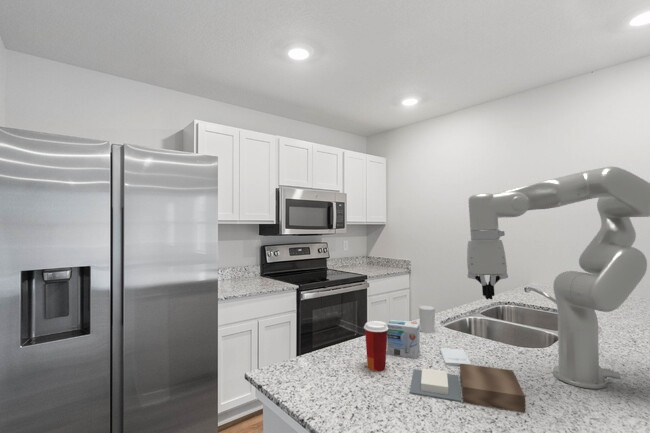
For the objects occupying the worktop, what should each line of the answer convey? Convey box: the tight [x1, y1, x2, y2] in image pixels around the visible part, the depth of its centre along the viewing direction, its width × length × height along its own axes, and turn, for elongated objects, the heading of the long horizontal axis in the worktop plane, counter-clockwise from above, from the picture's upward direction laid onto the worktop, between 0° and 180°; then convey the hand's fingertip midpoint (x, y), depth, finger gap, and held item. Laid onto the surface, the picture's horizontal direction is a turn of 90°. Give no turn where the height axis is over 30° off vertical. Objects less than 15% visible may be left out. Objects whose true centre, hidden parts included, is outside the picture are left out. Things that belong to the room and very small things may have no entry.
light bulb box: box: [386, 318, 421, 360], centre depth 118 cm, size 11×7×11 cm, turn 68°
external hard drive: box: [439, 347, 473, 367], centre depth 113 cm, size 2×8×12 cm
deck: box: [459, 364, 526, 413], centre depth 90 cm, size 14×15×4 cm
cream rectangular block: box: [421, 367, 448, 395], centre depth 94 cm, size 7×10×2 cm
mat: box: [409, 368, 462, 403], centre depth 94 cm, size 13×15×1 cm
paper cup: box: [363, 320, 388, 373], centre depth 106 cm, size 8×8×14 cm
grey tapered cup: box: [418, 305, 436, 334], centre depth 142 cm, size 7×7×10 cm
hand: (488, 298), depth 97 cm, fingers closed
